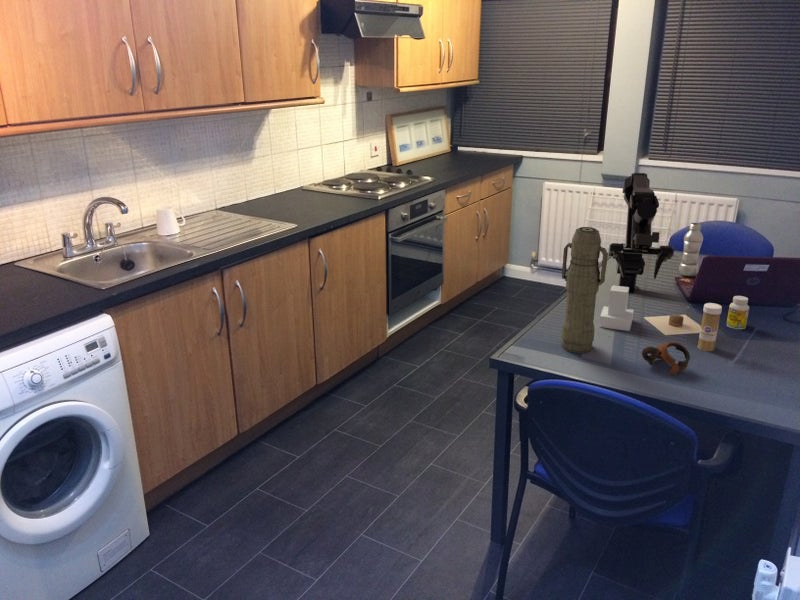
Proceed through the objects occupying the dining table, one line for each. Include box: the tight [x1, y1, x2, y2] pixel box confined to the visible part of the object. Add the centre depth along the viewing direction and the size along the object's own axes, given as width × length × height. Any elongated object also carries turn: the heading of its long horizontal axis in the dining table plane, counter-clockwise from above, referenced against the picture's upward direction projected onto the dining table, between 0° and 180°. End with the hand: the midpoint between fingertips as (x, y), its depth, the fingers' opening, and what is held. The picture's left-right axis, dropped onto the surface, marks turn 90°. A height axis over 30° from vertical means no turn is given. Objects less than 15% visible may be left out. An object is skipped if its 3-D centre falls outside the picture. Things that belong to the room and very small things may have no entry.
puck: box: [669, 314, 684, 327], centre depth 199 cm, size 4×4×2 cm
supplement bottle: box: [726, 295, 750, 330], centre depth 196 cm, size 5×5×10 cm
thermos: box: [561, 226, 609, 354], centre depth 181 cm, size 9×12×35 cm
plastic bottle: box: [678, 222, 704, 277], centre depth 240 cm, size 6×7×20 cm
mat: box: [643, 314, 701, 336], centre depth 199 cm, size 14×14×1 cm
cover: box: [598, 285, 634, 332], centre depth 199 cm, size 9×9×12 cm
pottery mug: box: [641, 341, 691, 376], centre depth 173 cm, size 12×10×8 cm
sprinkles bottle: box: [696, 302, 723, 352], centre depth 181 cm, size 5×5×14 cm
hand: (639, 277), depth 200 cm, fingers open, 9 cm apart
